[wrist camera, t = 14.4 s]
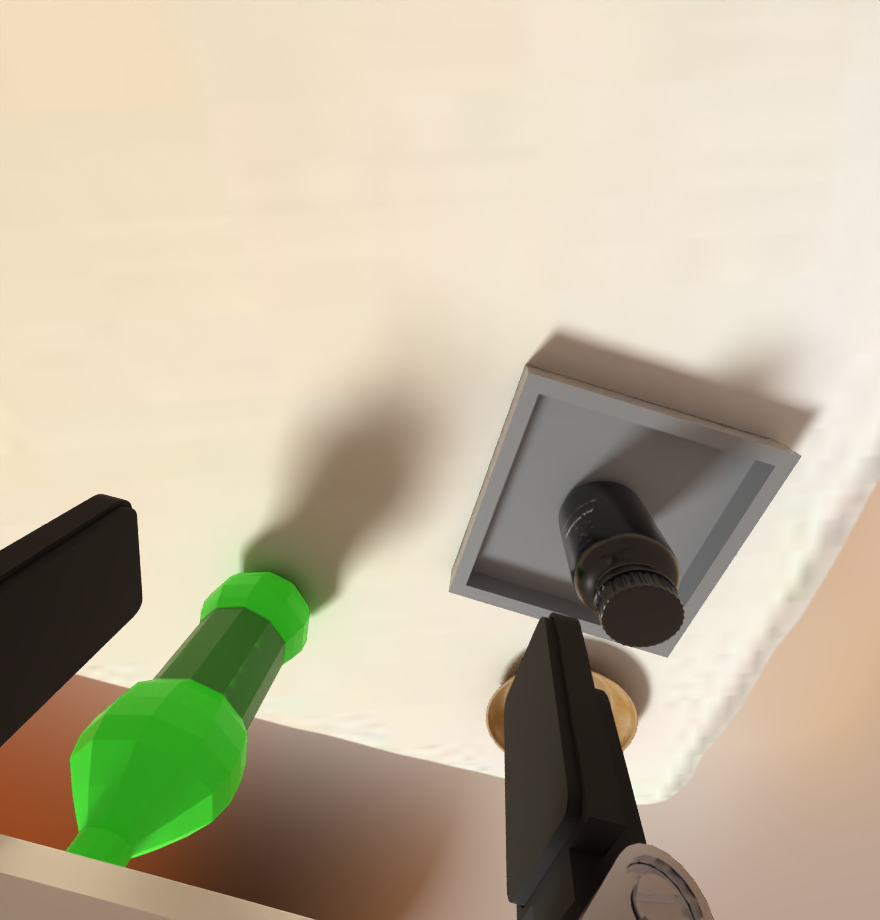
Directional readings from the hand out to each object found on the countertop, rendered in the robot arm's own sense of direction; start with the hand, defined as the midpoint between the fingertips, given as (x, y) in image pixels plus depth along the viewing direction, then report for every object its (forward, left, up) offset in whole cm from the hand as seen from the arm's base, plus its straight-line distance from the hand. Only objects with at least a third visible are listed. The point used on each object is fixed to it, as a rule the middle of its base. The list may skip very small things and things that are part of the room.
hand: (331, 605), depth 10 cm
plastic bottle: (+27, -10, -27) cm, 39 cm away
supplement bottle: (+8, +15, -26) cm, 31 cm away
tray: (+8, +16, -27) cm, 32 cm away
